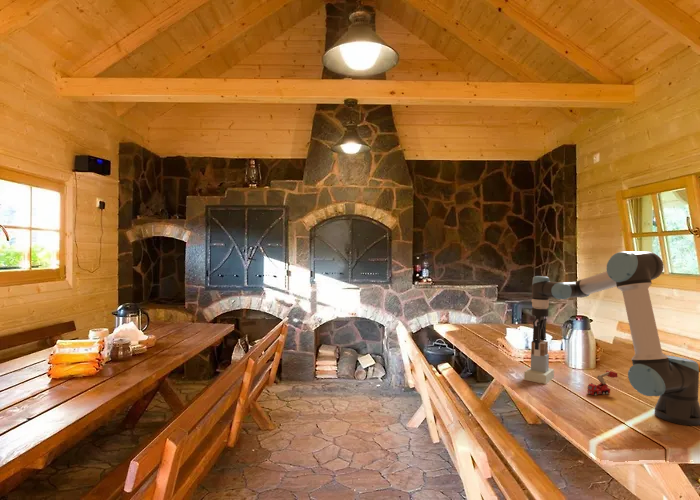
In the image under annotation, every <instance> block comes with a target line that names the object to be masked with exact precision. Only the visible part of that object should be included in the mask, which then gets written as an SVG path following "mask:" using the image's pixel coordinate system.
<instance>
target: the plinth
mask: <svg viewBox="0 0 700 500" xmlns="http://www.w3.org/2000/svg"><path fill="white" fill-rule="evenodd" d="M523 373H524V376H523V379H524V381H528V382H529V381H530V382H534V383H539V384H544V385H547V383H549V382H550V381H551V380H553V378H554V377H555V369H554V368H550V367H549V370H548V371H547V372H546V373H545V372H539V371H533V370H531V367H529V368H528V369H526V370H525V371H524V372H523Z"/></svg>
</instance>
